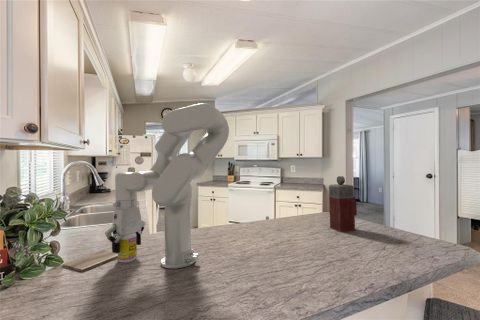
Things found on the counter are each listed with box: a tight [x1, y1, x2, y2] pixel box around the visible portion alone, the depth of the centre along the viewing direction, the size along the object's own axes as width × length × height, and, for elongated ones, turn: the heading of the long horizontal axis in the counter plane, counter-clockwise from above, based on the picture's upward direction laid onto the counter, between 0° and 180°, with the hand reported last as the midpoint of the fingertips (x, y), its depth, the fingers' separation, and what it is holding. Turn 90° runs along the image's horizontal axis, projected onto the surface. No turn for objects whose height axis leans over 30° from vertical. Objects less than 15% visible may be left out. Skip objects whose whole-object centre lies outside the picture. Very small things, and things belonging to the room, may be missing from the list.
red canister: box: [328, 175, 358, 233], centre depth 130 cm, size 9×11×28 cm
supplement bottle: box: [117, 233, 138, 263], centre depth 94 cm, size 7×7×13 cm
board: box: [62, 249, 118, 273], centre depth 94 cm, size 12×16×1 cm
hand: (127, 248), depth 94 cm, fingers open, 9 cm apart
